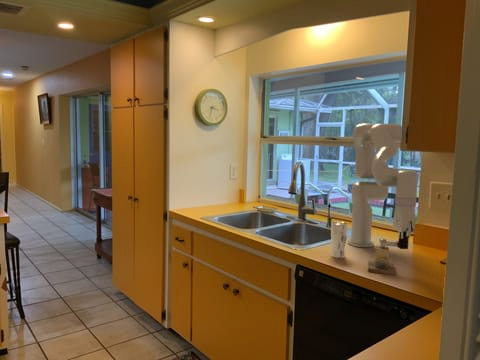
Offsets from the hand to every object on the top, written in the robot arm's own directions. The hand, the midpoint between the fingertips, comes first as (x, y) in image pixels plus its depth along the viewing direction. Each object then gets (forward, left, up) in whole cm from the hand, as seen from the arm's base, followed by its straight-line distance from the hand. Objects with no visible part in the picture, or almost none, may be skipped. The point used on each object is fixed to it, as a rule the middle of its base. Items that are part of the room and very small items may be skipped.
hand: (403, 248), depth 152 cm
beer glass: (-14, -26, -10) cm, 31 cm away
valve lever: (-2, -4, -1) cm, 5 cm away
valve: (-2, -8, -10) cm, 13 cm away
